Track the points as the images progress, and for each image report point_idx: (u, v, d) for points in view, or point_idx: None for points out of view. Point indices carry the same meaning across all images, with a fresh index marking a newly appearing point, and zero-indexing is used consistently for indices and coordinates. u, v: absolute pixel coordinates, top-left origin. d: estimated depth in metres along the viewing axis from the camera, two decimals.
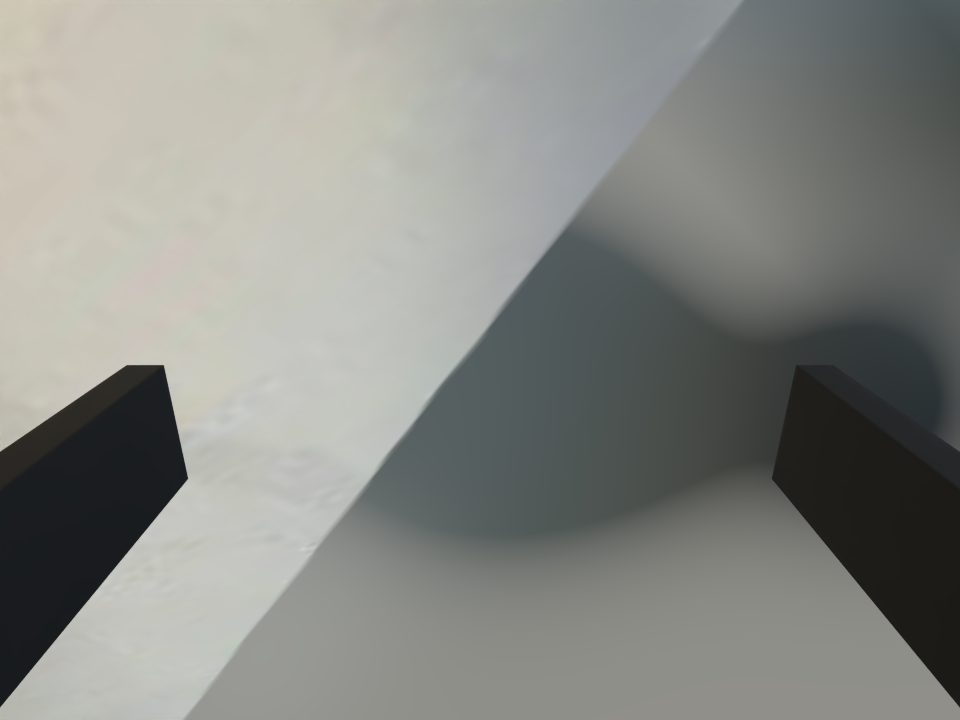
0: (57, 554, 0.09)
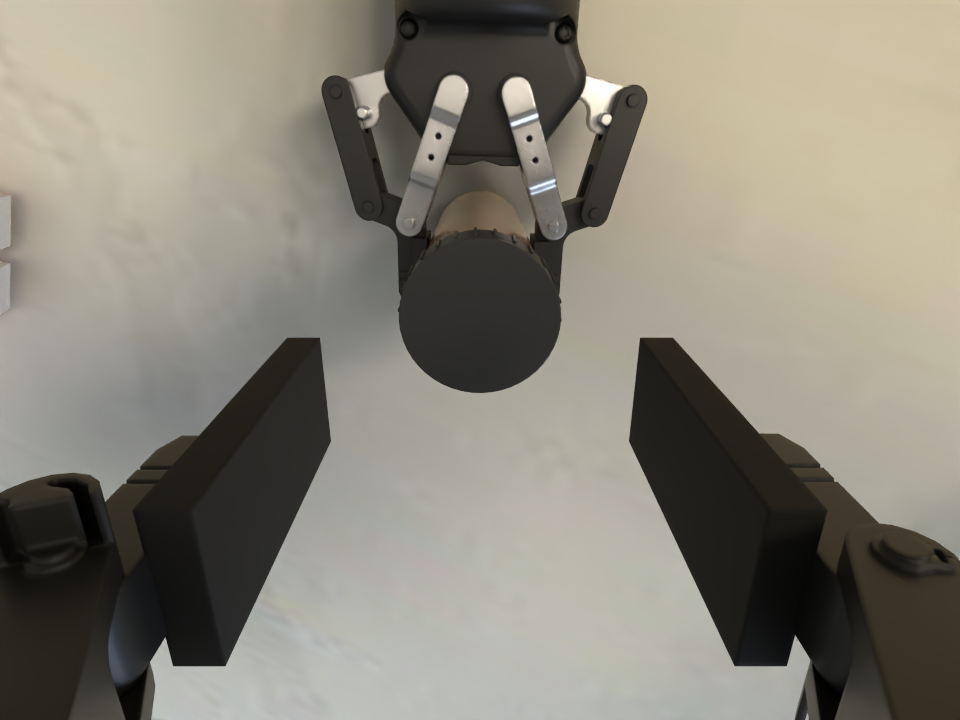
0: (274, 491, 0.11)
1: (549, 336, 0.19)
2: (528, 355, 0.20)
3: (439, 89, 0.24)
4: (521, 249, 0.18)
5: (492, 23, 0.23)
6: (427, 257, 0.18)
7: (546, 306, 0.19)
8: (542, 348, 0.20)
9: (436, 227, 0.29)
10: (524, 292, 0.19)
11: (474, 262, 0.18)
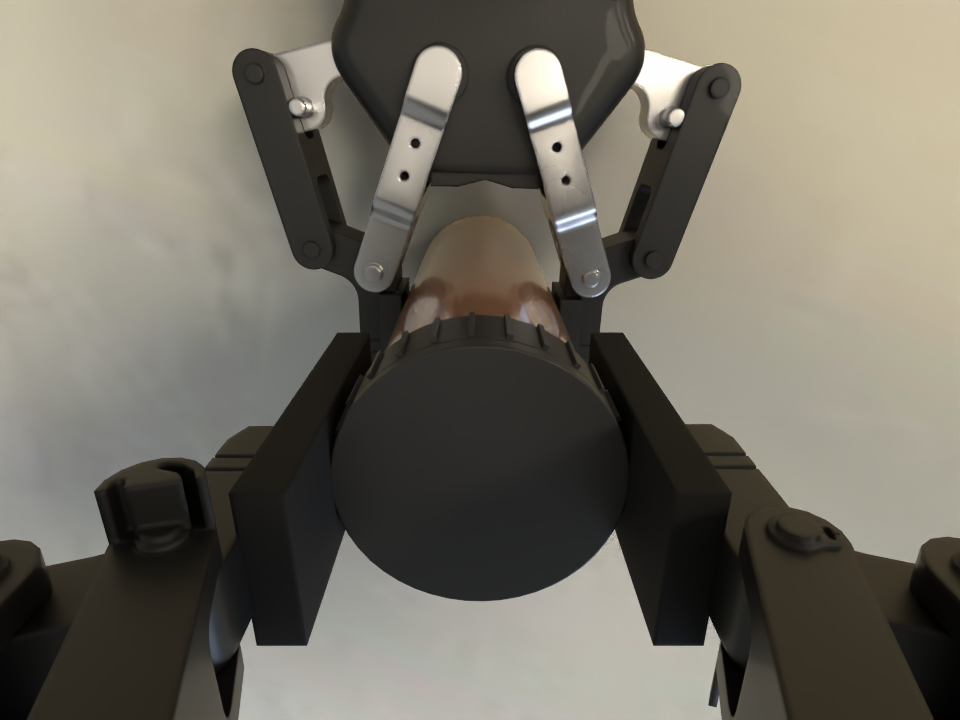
0: None
1: (607, 513, 0.11)
2: (567, 543, 0.11)
3: (415, 69, 0.15)
4: (559, 364, 0.10)
5: None
6: (379, 379, 0.10)
7: (603, 463, 0.10)
8: (593, 532, 0.11)
9: (417, 273, 0.20)
10: (563, 440, 0.10)
11: (469, 388, 0.10)
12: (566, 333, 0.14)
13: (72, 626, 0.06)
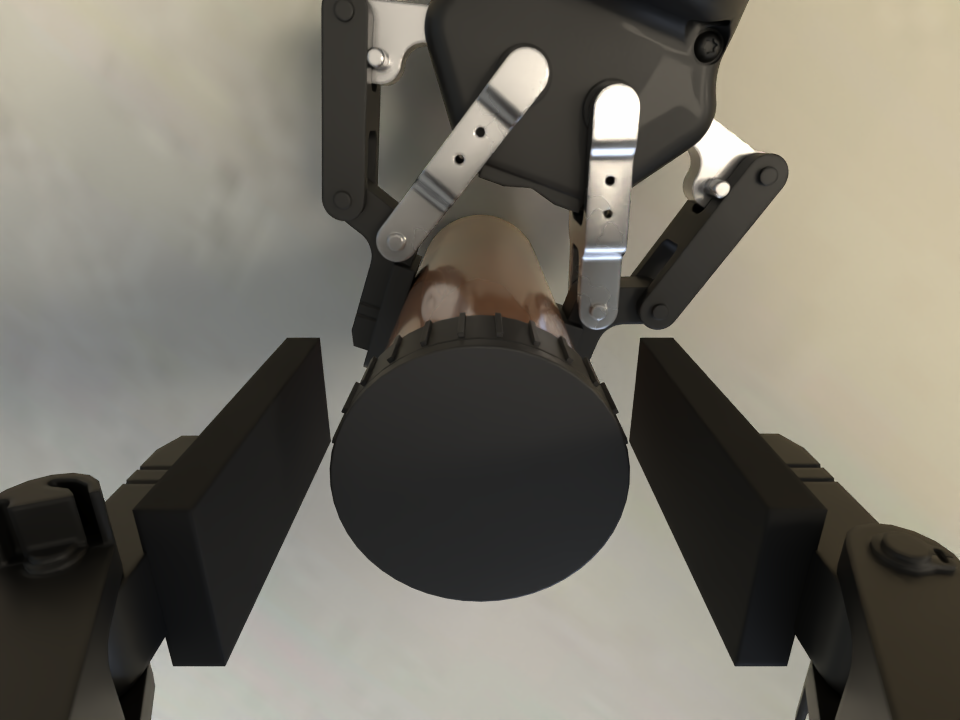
0: (274, 491, 0.11)
1: (580, 400, 0.10)
2: (591, 449, 0.10)
3: (505, 63, 0.15)
4: (401, 364, 0.10)
5: None
6: (334, 502, 0.11)
7: (524, 378, 0.10)
8: (594, 422, 0.10)
9: (431, 254, 0.20)
10: (476, 399, 0.10)
11: (380, 445, 0.10)
12: None
13: None
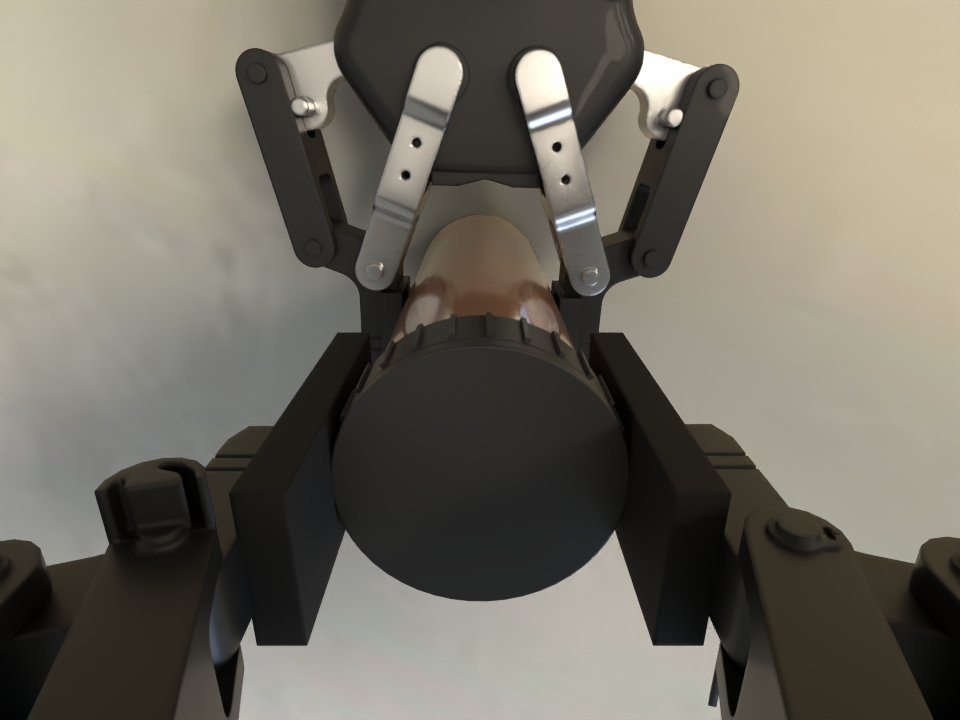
0: None
1: (547, 377, 0.10)
2: (574, 420, 0.10)
3: (417, 70, 0.15)
4: (365, 392, 0.10)
5: None
6: (351, 537, 0.11)
7: (484, 370, 0.10)
8: (568, 393, 0.10)
9: (418, 271, 0.20)
10: (446, 404, 0.10)
11: (373, 472, 0.10)
12: (565, 331, 0.14)
13: (72, 626, 0.06)
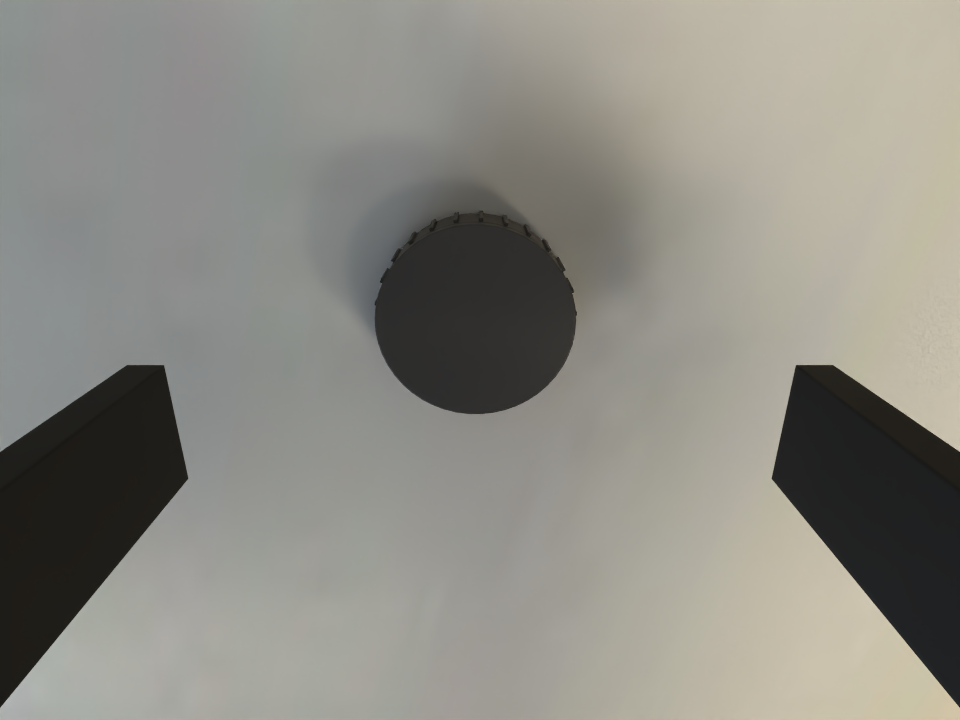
0: (58, 554, 0.09)
1: (518, 246, 0.15)
2: (537, 278, 0.15)
3: None
4: (399, 258, 0.15)
5: None
6: (388, 365, 0.16)
7: (477, 242, 0.15)
8: (532, 258, 0.15)
9: None
10: (452, 266, 0.15)
11: (403, 316, 0.15)
12: None
13: None
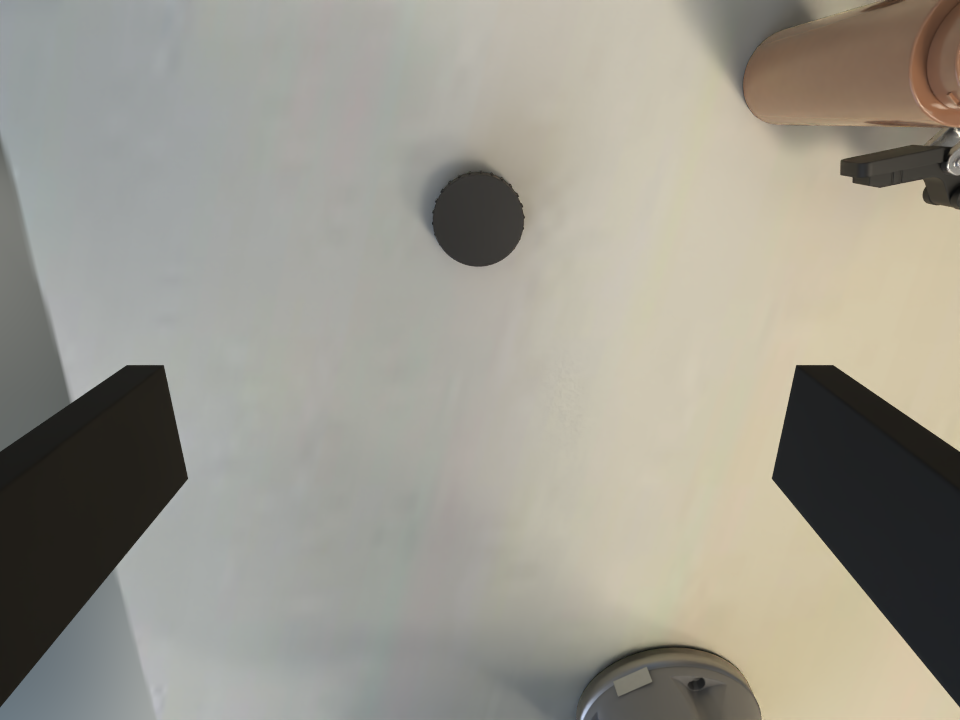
0: (57, 554, 0.09)
1: (497, 184, 0.33)
2: (505, 199, 0.34)
3: None
4: (444, 189, 0.34)
5: None
6: (438, 241, 0.35)
7: (479, 182, 0.33)
8: (503, 189, 0.34)
9: None
10: (468, 193, 0.34)
11: (446, 217, 0.34)
12: None
13: None
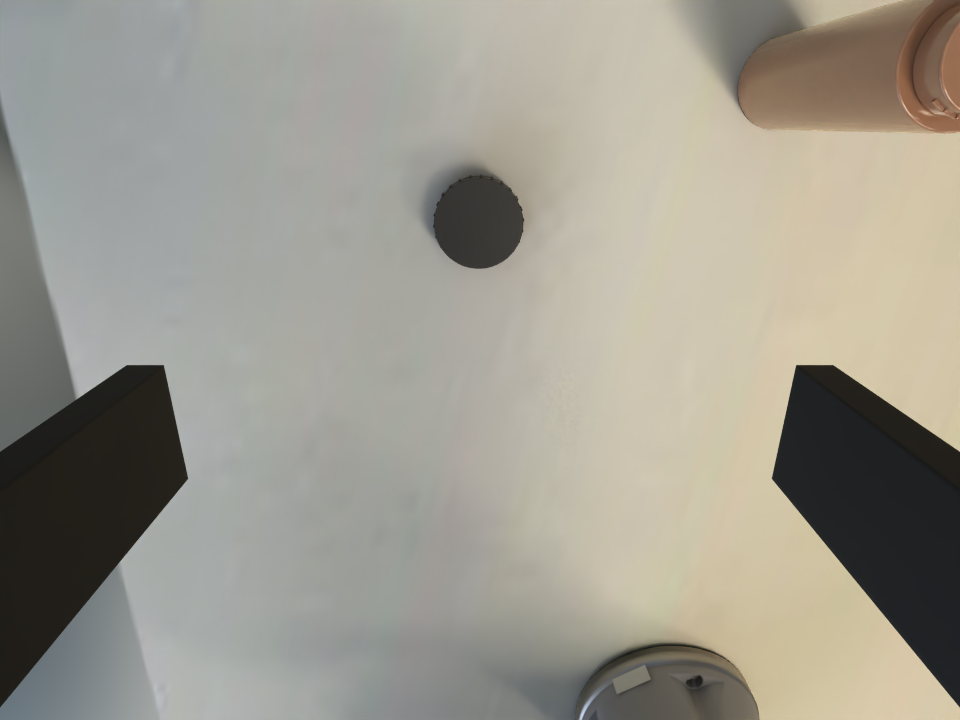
0: (57, 554, 0.09)
1: (497, 188, 0.34)
2: (505, 202, 0.34)
3: None
4: (445, 193, 0.34)
5: None
6: (439, 243, 0.35)
7: (479, 186, 0.34)
8: (503, 193, 0.34)
9: None
10: (468, 196, 0.34)
11: (446, 220, 0.35)
12: None
13: None
